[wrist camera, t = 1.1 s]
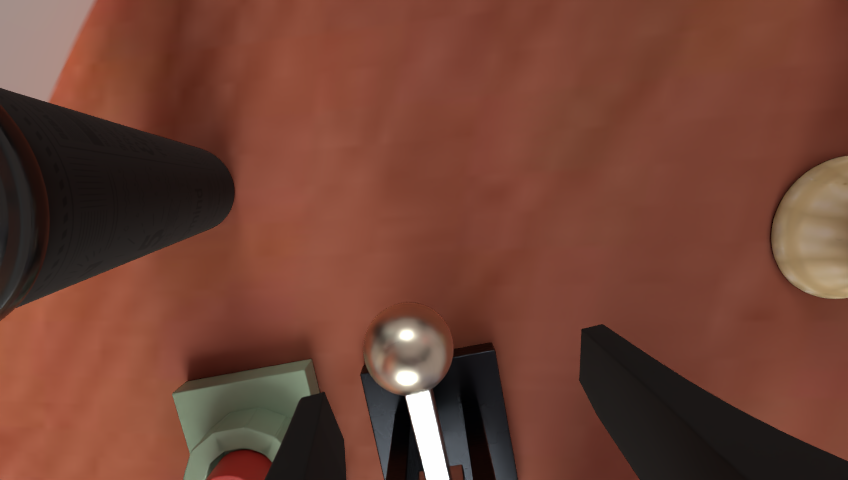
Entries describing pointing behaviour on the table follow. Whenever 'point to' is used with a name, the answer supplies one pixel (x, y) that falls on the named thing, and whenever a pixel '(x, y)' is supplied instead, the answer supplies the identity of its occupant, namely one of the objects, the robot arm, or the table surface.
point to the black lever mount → (449, 420)
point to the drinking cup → (92, 196)
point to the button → (241, 466)
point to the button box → (240, 412)
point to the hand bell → (815, 231)
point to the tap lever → (414, 375)
